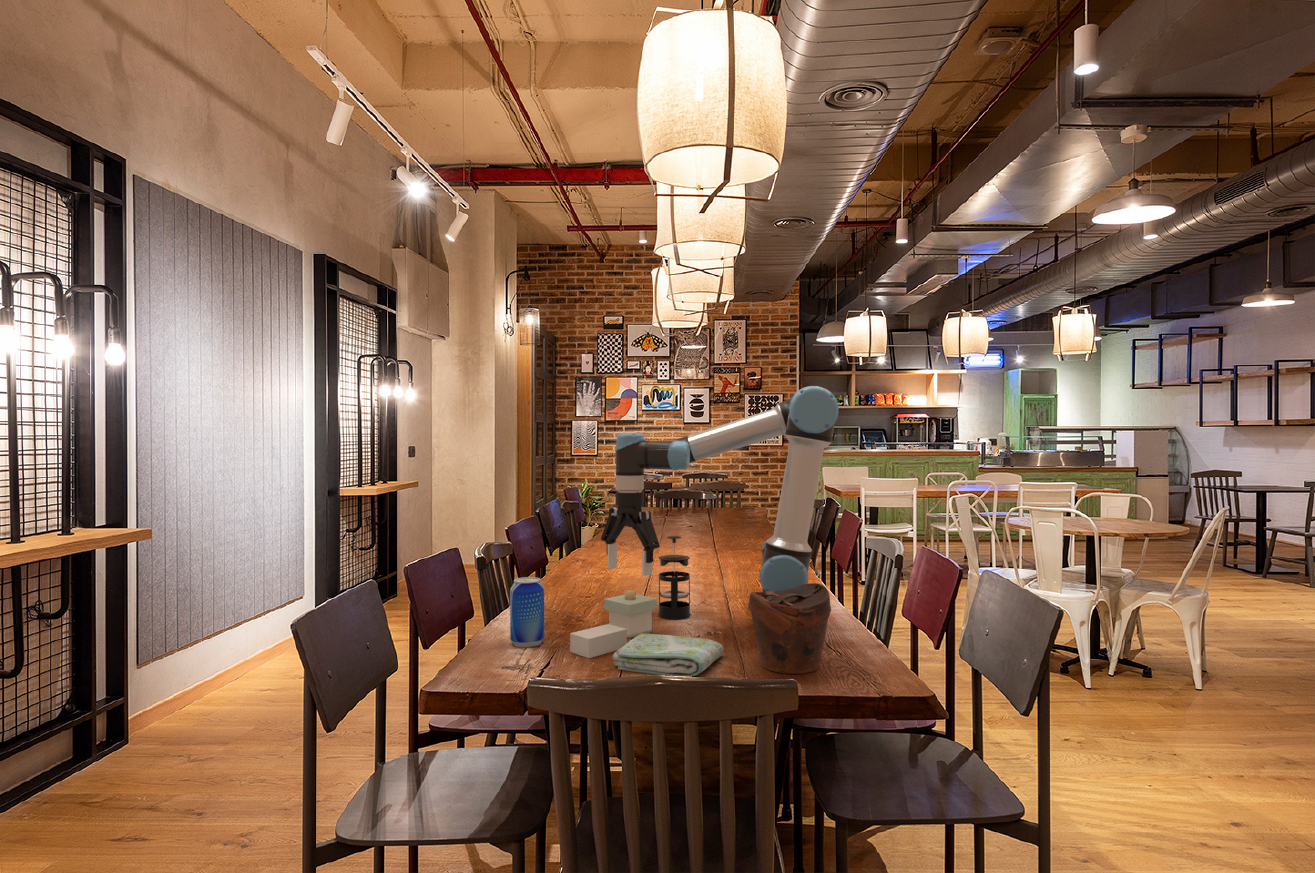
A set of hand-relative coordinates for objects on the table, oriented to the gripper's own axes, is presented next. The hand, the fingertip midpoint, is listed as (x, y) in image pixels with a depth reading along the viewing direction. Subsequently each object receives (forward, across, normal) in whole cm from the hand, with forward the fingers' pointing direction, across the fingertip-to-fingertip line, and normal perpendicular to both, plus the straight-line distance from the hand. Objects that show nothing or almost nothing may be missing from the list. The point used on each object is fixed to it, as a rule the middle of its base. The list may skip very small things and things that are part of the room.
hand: (629, 571), depth 188 cm
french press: (+16, +4, -21) cm, 27 cm away
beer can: (+16, +11, +25) cm, 32 cm away
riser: (+16, -6, +16) cm, 23 cm away
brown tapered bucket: (+16, -46, -6) cm, 49 cm away
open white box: (+16, 0, 0) cm, 16 cm away
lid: (+10, 0, 0) cm, 10 cm away
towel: (+16, -25, +11) cm, 32 cm away
